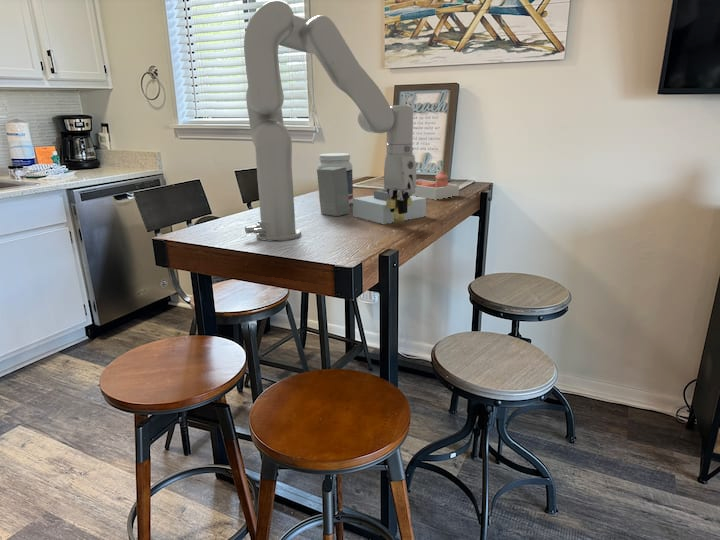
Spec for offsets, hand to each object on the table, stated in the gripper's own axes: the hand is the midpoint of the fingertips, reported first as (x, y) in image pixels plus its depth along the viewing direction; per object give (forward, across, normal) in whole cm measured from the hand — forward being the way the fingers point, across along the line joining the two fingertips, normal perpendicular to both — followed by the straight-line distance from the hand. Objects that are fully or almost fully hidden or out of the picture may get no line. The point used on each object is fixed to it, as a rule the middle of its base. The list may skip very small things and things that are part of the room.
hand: (398, 211), depth 149 cm
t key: (+3, 0, 0) cm, 3 cm away
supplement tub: (+5, +43, -6) cm, 44 cm away
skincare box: (+5, +28, +5) cm, 29 cm away
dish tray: (+4, +35, -46) cm, 58 cm away
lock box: (+4, +13, -7) cm, 15 cm away
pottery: (+4, +34, -46) cm, 57 cm away
